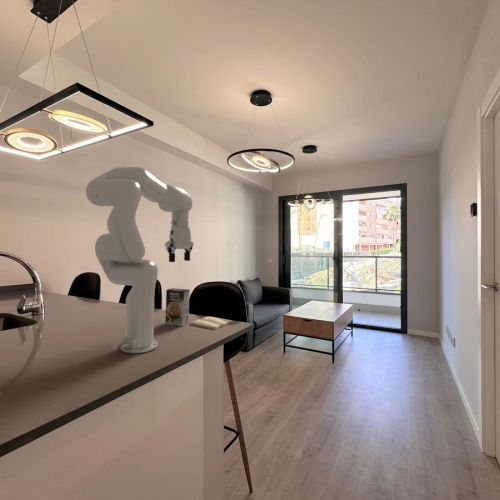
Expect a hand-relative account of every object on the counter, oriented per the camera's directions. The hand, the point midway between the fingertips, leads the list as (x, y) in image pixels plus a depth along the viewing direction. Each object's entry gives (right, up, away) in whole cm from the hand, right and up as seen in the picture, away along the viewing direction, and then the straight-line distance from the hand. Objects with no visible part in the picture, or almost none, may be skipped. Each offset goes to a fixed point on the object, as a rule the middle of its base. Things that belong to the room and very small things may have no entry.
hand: (179, 261), depth 134 cm
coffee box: (-1, -29, +1) cm, 30 cm away
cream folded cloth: (+14, -30, +3) cm, 33 cm away
